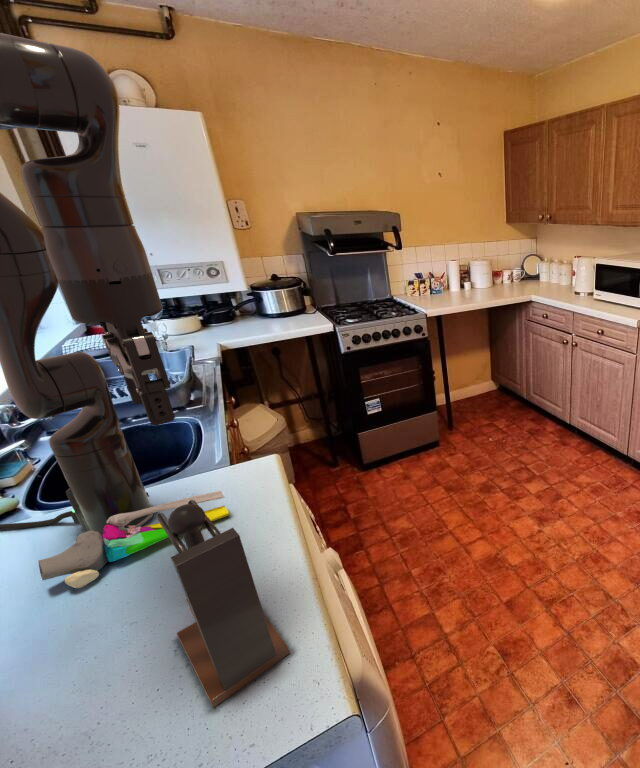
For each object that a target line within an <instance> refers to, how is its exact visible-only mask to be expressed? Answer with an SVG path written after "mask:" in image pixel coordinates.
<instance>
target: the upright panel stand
mask: <svg viewBox="0 0 640 768" xmlns="http://www.w3.org/2000/svg"><path fill="white" fill-rule="evenodd" d="M188 504H194V505H197V506H199V507H200V505H199V503H196V502H195V501H194V500H190V501H189V502H188ZM155 517H156V519H157V521H158V523H160V524H161V526H162V527H163V529H164V530H165V532H166V534H167V535H168V539H169V540H170V542H171V543H172V545H173V547H174V548H175V550H176V551H177V553H176V554H174V555H172V556H171V557H170V559H171V561H172V564H173V566H174V569H175V571H176V573H177V576H178V577H177V578H178V579H179V582H180V585H181V587H182V590H183V592H184V595H185V597H186V599H187V600H188V602H189V605H190V608H191V610H192V613H193V615H194V617H193V619H194V618H195V619H194V622H193V623H191V624H190V625H188V626H187V627H185V628H183V629H180V630H179V631H178V632H176V635H177V638H178V640H179V642H180V644H181V646H182V648H183V650H184V652H185V654H186V656H187V658H188V660H189V662H190V664H191V666H192V668H193V670H194V673H195V674H196V676H197V678H198V680H199V682H200V684H201V686H202V689H203V690H204V692H205V694H206V696H207V699H208V701H209V702H210V704H211V707H212V708H215V707H217V706H218V705H219V704H221V703H222V702H224V701H225V700H227V699H229V698H230V697H231V696H232V695H234V694H235V693H237V692H238V691H239V690H240V689H241V690H242V688H244V687H245V686H246V685H248V684H249V683H250V682H252V681H254V680H255V679H256V678H258V677H259V676H260V675H262V674H263V673H264V672H266V671H267V670H268V669H270V668H271V667H273V666H274V665H276V664H277V663H278V662H280V661H281V660H283V659H284V658H286V657H287V656H288V655H289V654H291V652H290V648H289V646H288V644H287V643H286V642H285V640H284V639H283V638H282V637H281V635H280V634H279V632H278V631H277V630H276V628H275V627H274V626H273V624H272V623H271V622H270V620H269V619H268V618H267V616H266V615H265V614H264V609H263V607H262V603H261V601H260V600H261V599H260V598H259V594H258V591H257V588H256V584H255V581H254V578H253V575H252V571H251V568H250V566H249V561H248V559H247V555H246V552H245V550H244V546H243V543H242V539H241V536H240V534H239V533H238V532H237V531H236V530H235V528H234V527H231V528H229V529H227V530H225V531H223V532H220V530H219V529H218V528H217V526H216V525H215V524H214V523H213V521H212V522H211V520H210V519H209V518H208V517H207V515H206V514H205V522H204V524H203V526H204V527H205V529H206V530H207V531H208V533H209V534H210V535H211V537H210V538H208V539H206V540H205V541H204V542H202V543H199V544H197V545H195V546H193V547H191V548H189V549H187V546H186V544H184V542H183V541H182V539H181V538H180V535H177V534H175V533H173V532H172V531H171V530H170V529H169V526H168V519H169V518H167V516H166V515H165V513H163V512H157V514H156V515H155ZM187 600H186V601H187ZM189 605H188V606H189ZM190 608H189V609H190ZM191 610H190V611H191ZM192 613H191V614H192ZM193 615H192V616H193ZM195 620H196V621H195Z"/></svg>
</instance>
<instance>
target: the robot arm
mask: <svg viewBox="0 0 640 768" xmlns="http://www.w3.org/2000/svg"><path fill="white" fill-rule="evenodd" d="M120 114H121V113H120V99H119V94H118V90H117V88H116V86H115V83H114V81H113V79H112V78H111V76H110V74H109V73H108V72H107V71H106V68H104V67H103V66H102V65H101V64H100V62H98V61H97V60H96V59H95V58H94V57H93V56H91V55H90V54H88V53H86V52H84V51H83V50H79V49H77V48H73V47H69V46H64V45H60V44H55V43H50V42H49V43H48V42H44V41H40V40H36V39H31V38H25V37H22V36H17V35H12V34H8V33H3V32H0V131H4V130H5V131H6V130H14V129H19V128H22V129H23V128H24V129H33V130H34V129H36V130H45V131H55V132H62V133H63V132H64V133H74V134H77V136H78V145H77V148H76V150H75V151H74V152H73V153H71V154H67V155H62V156H55V157H54V156H53V157H44V158H43V157H42V158H37V159H31V160H27V161H26V162H24V163H22V164H21V166H20V174H21V175H20V176H21V179H22V182H23V184H24V187H25V190H26V193H27V195H28V197H29V201H30V203H31V205H32V208H33V211H34V214H35V216H36V218H37V222H38V223H37V222H36V221H35V220H34V219H33V218H32V217H31V216H30V215H29V214H27V213H26V212H25V211H24V210H23V209H22V208H20V207H19V206H18V205H17V204H16V203H14V202H13V201H12V200H11V199H9V198H8V196H5V194H4V193H2V192H1V191H0V367H1V370H2V373H3V376H4V379H5V382H6V385H7V388H8V392H9V394H10V396H11V398H12V400H13V403H15V405H16V407H17V409H18V410H19V411H20V412H21V413H22V414H23V415H24V416H26V417H27V418H30V419H32V420H41V419H47V418H50V417H55V416H58V415H62V414H66V413H68V412H72V411H75V410H79V409H80V411H79V413H77V415H76V416H75V417H74V418H73V419H72V420H70V421H69V422H68V423H67V424H65V425H64V426H62V427H60V428H59V429H58V430H56V431H55V432H54V433H52V434H51V436H50V437H49V440H48V444H49V447H50V449H51V451H52V453H53V456H54V457H55V459H56V461H57V465H58V466H59V469H60V470H61V472H62V474H63V476H64V479H65V480H66V483H67V485H68V487H69V488H68V489H67V490H65V495H66V497H67V499H68V501H69V503H70V505H71V507H72V510H69V511H66V512H62V513H60V514H58V515H57V516H55V517H53V518H50V519H45V520H39V521H30V522H29V521H28V522H12V523H0V530H13V529H15V530H16V529H29V528H39V527H40V528H41V527H45V526H50V525H56V524H58V523H59V522H61V521H62V520H65V519H67V518H72V520H73V522H74V525H80V527H81V528H82V531H83V533H84V532H87V531H96V532H99V533H100V534H101V535H102V537H103V533H104V532H103V531H104V527H105V526H106V525H107V524H109V523H107V520H108V519H109V518H110V517H111V516H114V515H117V514H121V513H130V512H135V511H139V510H142V509H146V508H150V507H153V506H152V505H151V502H150V495H149V492H147V491H146V489H145V486H144V483H143V481H142V478H141V476H140V473H139V470H138V468H137V466H136V463H135V460H134V457H133V455H132V453H131V450H130V447H129V446H128V445H129V444H128V442H127V439H126V437H125V435H124V432H123V429H122V427H121V422H120V419H119V416H118V413H117V411H116V408H115V405H114V402H113V399H112V395H111V392H110V389H109V385H108V382H107V379H106V377H105V373H104V372H103V370H102V367H101V366H100V364H99V362H98V361H97V360H96V359H95V358H94V357H93V356H92V355H91V354H89V353H87V352H84V351H75V352H70V353H64V354H60V355H55V356H51V357H46V358H41V359H36V351H35V350H36V347H35V346H36V337H37V333H38V330H39V327H40V325H41V323H42V321H43V319H44V317H45V315H46V313H47V311H48V310H49V307H50V305H51V304H52V302H53V300H54V298H55V295H56V293H57V291H58V288H59V287H60V291H61V293H62V296H63V298H64V300H65V303H66V306H67V309H68V311H69V313H70V317H71V318H72V319H73V320H74V321H75V322H78V323H81V324H88V325H89V324H91V325H92V324H96V325H97V324H98V325H99V326H100V327H101V328H102V331H103V333H104V334H101V339H102V342H103V345H104V346H105V348H106V350H107V351H108V354H109V357H110V359H111V362H112V363H113V365H114V366H116V367H117V371H118V373H119V374H120V375H121V376H123V379H124V381H125V385H126V387H127V390H128V392H129V395H130V399H131V401H132V402H133V404H135V405H143V408H144V410H145V413H146V416H147V419H148V421H149V423H150V424H151V425H152V426H160V425H163V424H166V423H170V422H173V421H174V420H175V419H176V416H175V413H174V410H173V406H172V403H171V400H170V397H169V394H168V392H167V390H168V389H171V385H172V383H171V380H170V379H169V377H168V374H167V370H166V368H165V365H164V362H163V358H162V357H161V353H160V350H159V347H158V343H157V338H156V336H155V335H154V334H153V333H154V332H152V331H149V330H148V329H147V328H146V327H144V326H143V324H142V319H143V318H147V317H153V316H155V315H158V314H160V313H161V312H162V310H163V305H162V301H161V298H160V295H159V291H158V289H157V285H156V282H155V277H154V275H153V272H152V271H153V270H152V269H151V266H150V262H149V259H148V256H147V252H146V249H145V247H144V244H143V242H142V240H141V238H140V236H139V234H138V232H137V229H136V226H135V225H134V220H133V216H132V214H131V211H130V207H129V204H128V201H127V198H126V194H125V190H124V187H123V183H122V182H123V181H122V176H121V167H120V152H119V151H120V149H119V143H120V142H119V141H120V140H119V139H120V138H119V137H120V136H119V135H120ZM150 374H153V375H154V376H155V378H156V379H152V380H151V379H150ZM154 514H155V513H151V514H148V515H144V516H141V517H139V518H136V519H134V520H132V521H130V522H129V523H128V524H126V525H125V526H124V528H129V527H128V526H129V525H131V526H134V525H135V527H140V526H141V527H143V526H145V524H147V523H148V522H149V521H150V520H152V518H153V517H154ZM109 525H112V524H109Z"/></svg>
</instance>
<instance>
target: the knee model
mask: <svg viewBox="0 0 640 768" xmlns="http://www.w3.org/2000/svg"><path fill="white" fill-rule="evenodd" d="M224 498H225V496H224V494H223V492H222V490H218V491H213V492H208V493H204V494H198V495H193V496H190V497H187V498H182V499H178V500H174V501H169V502H164V503H161V504H158V505H155V506H152V507H150V508H146V509H142V510H139V511H135V512H130V513H121V514H117V515H114V516H111V517H110V518H109V519H108V520H107V523H109V524H112V525H109V524H107V525H106V526H105V527H104V531H103V532H104V533H103V537H102V535H101V534H100V533H99V532H96V531H87V532H84V531H83V532H81V533H79V535H78V536H77V537H76V539H75V541H74V544H72V545H71V546H70V547H68V548H67V549H65V550H64V551H61V552H60V553H59V554H55V555H53V556H50V557H47V558H43V559H39V560H38V561H37V562H38V569H39V573H40V577H41V580H42V581H47V580H50V579H54V578H58V577H62V576H66V575H68V576H67V577H65V578H64V583H65V584H66V585H67V586H69V587H72V588H74V589H81V588H84V587H86V586H87V585H88V584H90V583H91V582H93V581H95V580H96V579H97V578H98V577H99V576H100V572H99V570H100V569H102V568H103V567H104V566H105V565H106V564H107V563H108V562H109V563H113V562H115V561H116V562H117V561H119V560H121V559H123V558H126V557H128V556H130V555H133V554H134V553H137V552H139V551H142V550H144V549H147V548H148V547H150V546H152V545H155V544H156V543H159V542H161V541H163V540H166V539H169V537H168V535H167V534H166V532H165V530H164V529H163V527H162V526H161V524H160V522H158V523H152V524H148V525H142V526H140V527H135V525H134V526H131V525H129V526H128V527H129V528H124V526H125V525H126V524H128V523H129V522H130V521H132V520H134V519H136V518H139V517H141V516H144V515H148V514H151V513H154V514H155V513H160V512H163V511H169V510H175V509H176V508H178V507H180V506H182V505H186V504H188V502H189V501H190V500H194V501H195V502H196V503H197V504H202V503H206V502H210V501H214V500H215V501H216V500H220V499H224ZM225 499H226V498H225ZM204 512H205V514H206V515H207V517H208V518H209V519H210V520H211V522H212V523H213V522H214V521H218V520H220V519H222V518H226V517H229V516H230V511H229V510H228V509H227V507H226V506H225V505H222V506H218V507H214V508H210V509H208V510H204Z"/></svg>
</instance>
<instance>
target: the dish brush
mask: <svg viewBox="0 0 640 768" xmlns="http://www.w3.org/2000/svg"><path fill="white" fill-rule="evenodd" d="M204 511H205V510H204V509H203V508H202V507H201V506H200V505H199V506H197V505H194V504H186V505H182V506H180V507H178V508H176V509H173V510H172V512H171V513H170V514H169V516H168V518H167V519H168V526H169V529H170V530H171V531H172V532H173V533H175V534H177V535H178V536H181V537H182V538H183V540H184V543H185V547H186V548H187V549H189V548H191V547H193V546H195V545H197V544H199V543H202V542H204V541H206V540H205V538H204V535H203V532H202V529H201V528H202V527H203V526H204V525H203V524H204V522H205V512H204ZM186 603H187V606H188V608H189V610H190V613H191V616H192V617H193V619H194V622H196V620H195V618H194V615H193V613H192V610H191V608H190V605H189V602H188V600H187V598H186Z"/></svg>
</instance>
